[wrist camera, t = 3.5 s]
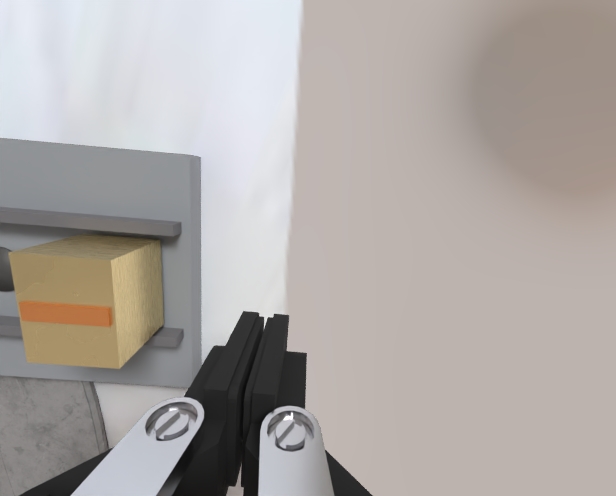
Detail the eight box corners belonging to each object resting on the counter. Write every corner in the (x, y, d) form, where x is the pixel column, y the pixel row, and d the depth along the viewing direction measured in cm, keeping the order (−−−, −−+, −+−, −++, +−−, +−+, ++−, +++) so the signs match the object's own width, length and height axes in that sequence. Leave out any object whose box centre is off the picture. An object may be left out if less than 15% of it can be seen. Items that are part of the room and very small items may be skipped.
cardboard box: (163, 323, 16) (117, 370, 12) (93, 318, 16) (24, 364, 12) (160, 239, 15) (108, 261, 11) (84, 233, 15) (5, 253, 11)
